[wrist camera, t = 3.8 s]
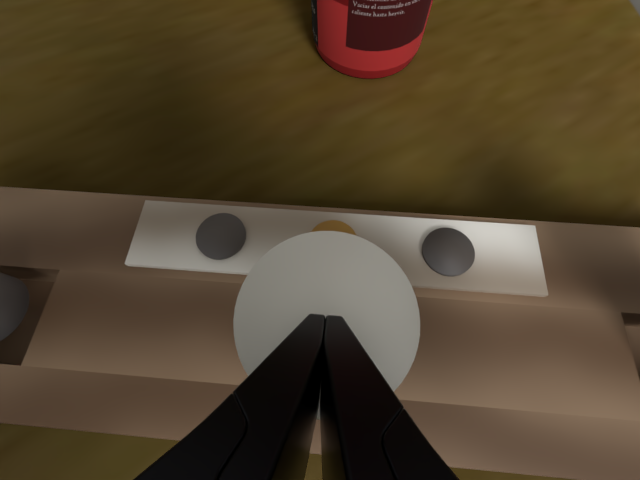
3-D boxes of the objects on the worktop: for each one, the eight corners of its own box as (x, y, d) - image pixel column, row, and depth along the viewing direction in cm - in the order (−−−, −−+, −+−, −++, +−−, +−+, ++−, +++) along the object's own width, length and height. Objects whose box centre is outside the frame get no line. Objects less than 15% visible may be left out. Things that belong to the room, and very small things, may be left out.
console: (765, 484, 14) (897, 513, 11) (-78, 402, 16) (-183, 407, 12) (681, 257, 18) (760, 229, 15) (16, 212, 20) (-45, 178, 16)
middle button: (382, 410, 14) (424, 429, 8) (261, 399, 14) (216, 410, 8) (382, 291, 16) (417, 236, 10) (277, 284, 16) (249, 225, 10)
